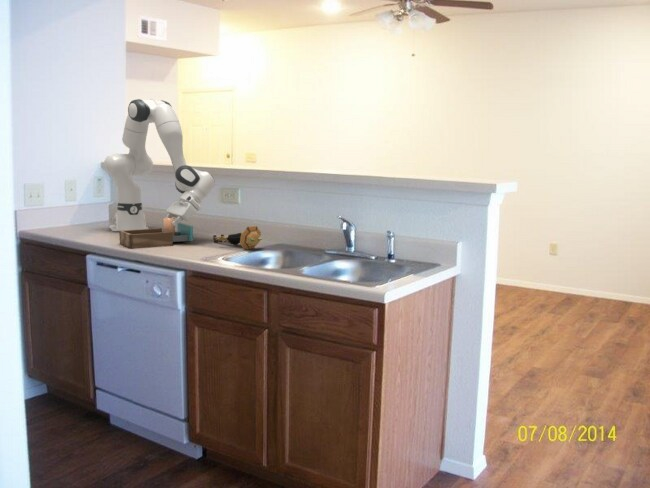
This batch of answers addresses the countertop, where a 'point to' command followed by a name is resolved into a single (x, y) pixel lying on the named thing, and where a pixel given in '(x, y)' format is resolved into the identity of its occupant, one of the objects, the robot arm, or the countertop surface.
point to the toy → (242, 238)
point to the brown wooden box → (145, 238)
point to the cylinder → (168, 225)
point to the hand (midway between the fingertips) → (169, 223)
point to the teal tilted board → (183, 233)
